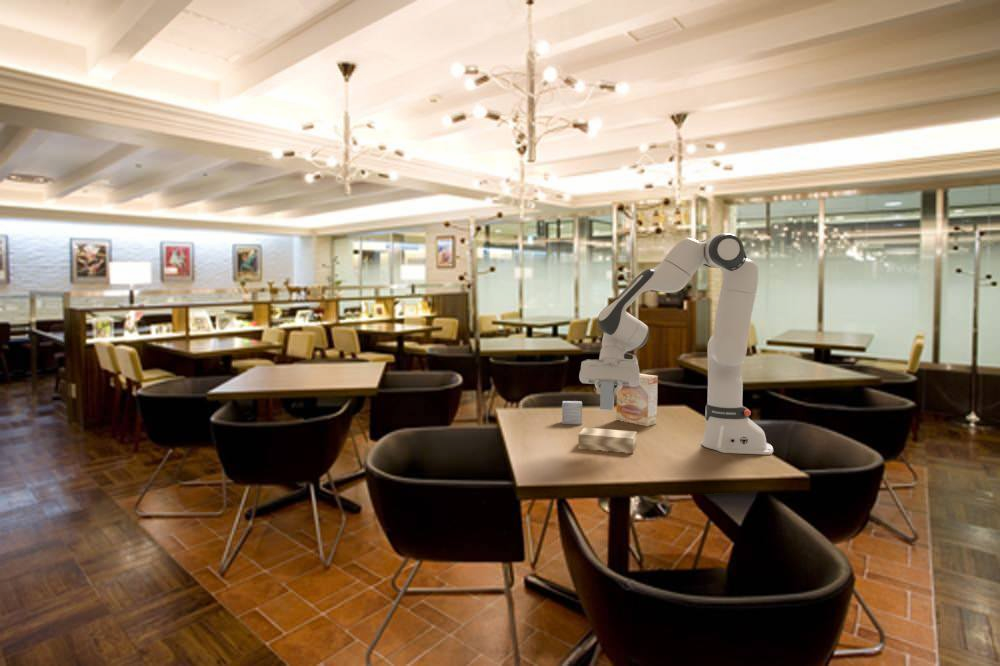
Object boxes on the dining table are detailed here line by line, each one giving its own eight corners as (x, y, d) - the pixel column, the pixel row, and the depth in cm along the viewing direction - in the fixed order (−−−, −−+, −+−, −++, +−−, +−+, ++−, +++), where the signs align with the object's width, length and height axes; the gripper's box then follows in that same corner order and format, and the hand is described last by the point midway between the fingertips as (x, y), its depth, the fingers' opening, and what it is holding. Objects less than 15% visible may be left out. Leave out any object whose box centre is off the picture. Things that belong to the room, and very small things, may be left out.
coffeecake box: (615, 420, 236) (616, 373, 234) (625, 417, 241) (626, 371, 239) (647, 426, 225) (648, 377, 223) (657, 423, 230) (658, 375, 228)
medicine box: (581, 422, 232) (581, 401, 232) (582, 424, 228) (582, 403, 227) (561, 421, 233) (562, 400, 232) (562, 424, 229) (562, 402, 228)
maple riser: (636, 446, 197) (636, 431, 196) (633, 453, 187) (633, 438, 187) (584, 441, 203) (584, 427, 202) (578, 448, 193) (578, 434, 193)
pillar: (613, 407, 193) (614, 381, 192) (612, 409, 189) (612, 382, 189) (601, 407, 194) (602, 380, 193) (600, 409, 191) (600, 382, 190)
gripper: (580, 353, 200) (574, 385, 192) (641, 356, 194) (637, 389, 185) (583, 364, 205) (577, 396, 196) (642, 367, 198) (638, 400, 190)
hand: (607, 393), depth 191 cm, fingers closed on pillar, 4 cm apart
